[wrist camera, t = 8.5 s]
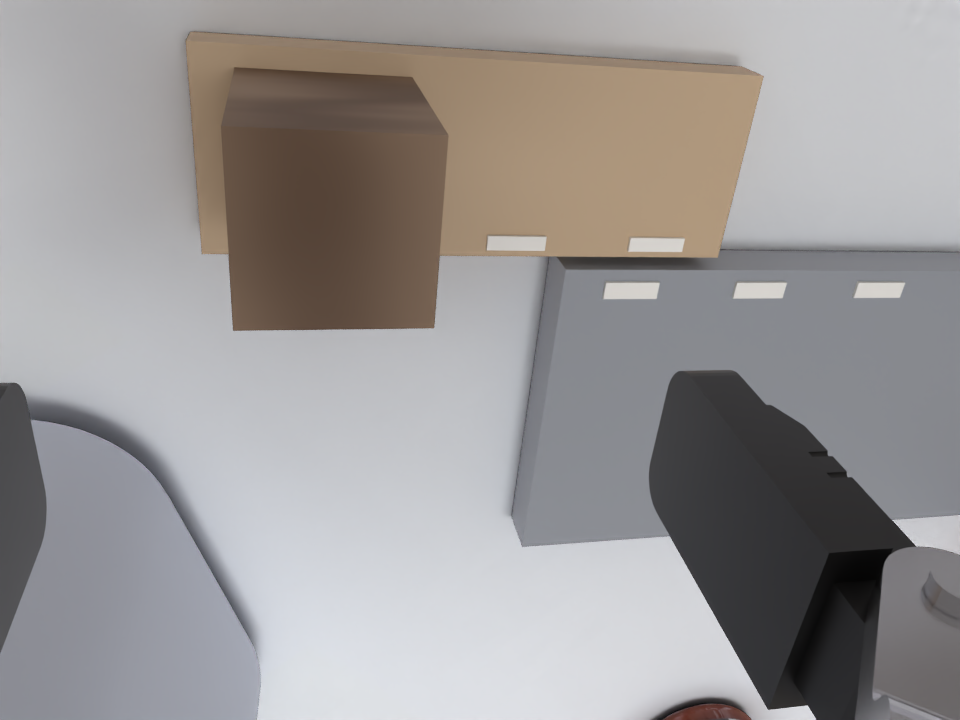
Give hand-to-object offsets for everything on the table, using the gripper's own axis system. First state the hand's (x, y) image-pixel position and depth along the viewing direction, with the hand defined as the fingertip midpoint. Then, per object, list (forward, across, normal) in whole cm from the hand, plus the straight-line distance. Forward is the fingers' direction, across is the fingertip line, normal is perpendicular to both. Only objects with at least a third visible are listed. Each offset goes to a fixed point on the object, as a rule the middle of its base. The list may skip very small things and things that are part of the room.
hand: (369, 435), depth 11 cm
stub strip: (+13, -4, 0) cm, 13 cm away
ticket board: (+13, -16, +8) cm, 22 cm away
